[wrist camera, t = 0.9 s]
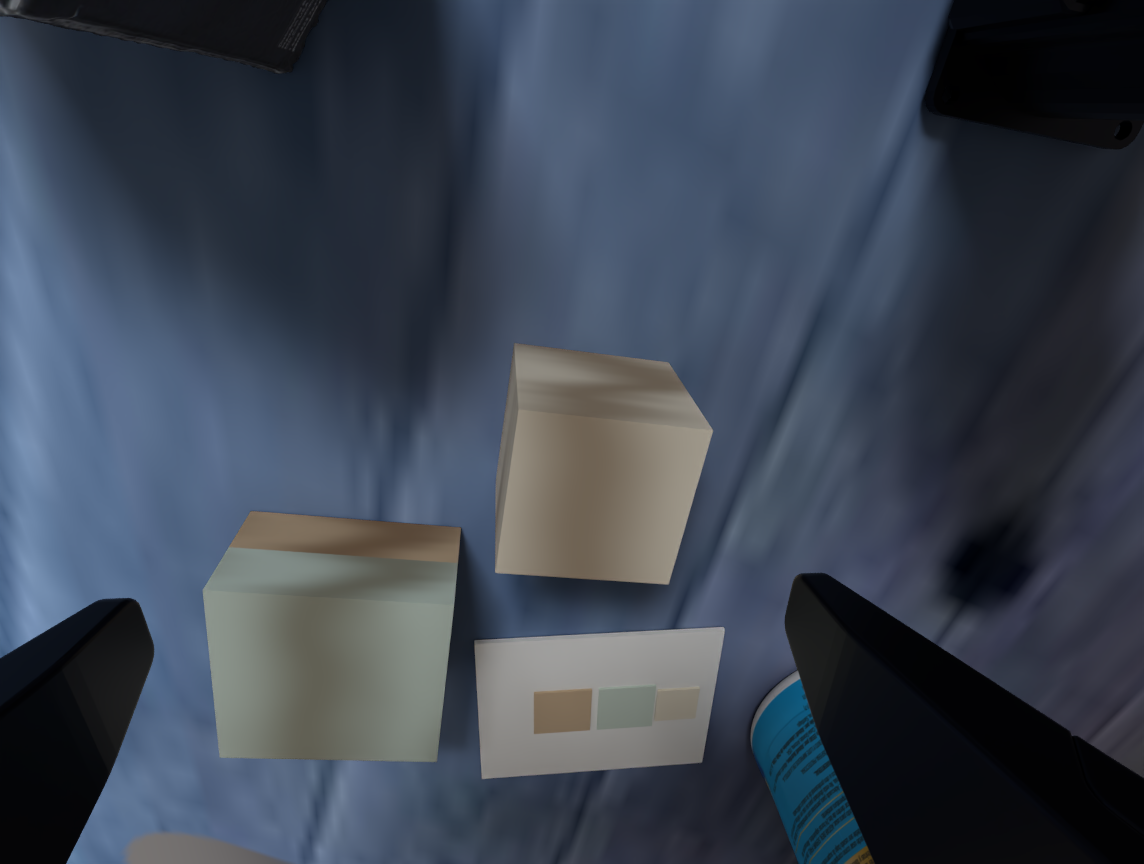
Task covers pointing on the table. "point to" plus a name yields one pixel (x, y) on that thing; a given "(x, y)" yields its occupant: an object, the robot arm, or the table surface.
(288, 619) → the tower base
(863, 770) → the robot arm
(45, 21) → the small box
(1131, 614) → the table surface
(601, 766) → the page
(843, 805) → the beverage bottle
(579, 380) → the beige cube
